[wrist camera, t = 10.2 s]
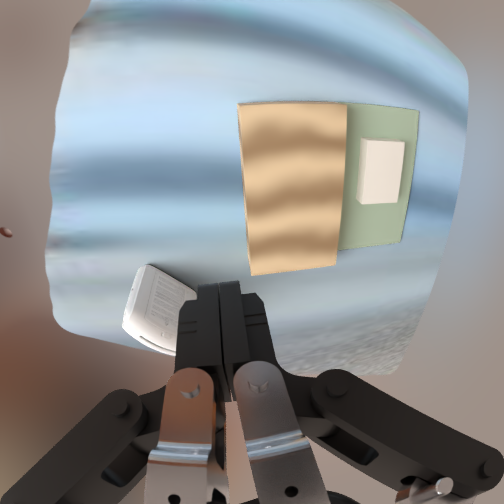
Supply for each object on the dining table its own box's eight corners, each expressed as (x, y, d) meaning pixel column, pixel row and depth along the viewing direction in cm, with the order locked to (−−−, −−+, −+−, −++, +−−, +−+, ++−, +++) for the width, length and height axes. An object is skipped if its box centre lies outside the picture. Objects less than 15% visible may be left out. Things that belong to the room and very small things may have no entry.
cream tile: (404, 142, 33) (397, 139, 34) (367, 140, 32) (360, 137, 34) (397, 202, 38) (390, 196, 39) (362, 204, 37) (355, 198, 39)
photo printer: (131, 277, 42) (113, 337, 32) (144, 258, 41) (127, 319, 30) (186, 307, 47) (182, 368, 36) (200, 291, 45) (200, 353, 35)
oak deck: (237, 103, 31) (239, 105, 27) (333, 101, 32) (346, 104, 28) (248, 259, 43) (251, 275, 39) (326, 250, 44) (335, 265, 40)
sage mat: (337, 102, 32) (338, 102, 31) (417, 110, 32) (418, 110, 32) (329, 249, 44) (330, 251, 43) (398, 241, 45) (399, 242, 44)
